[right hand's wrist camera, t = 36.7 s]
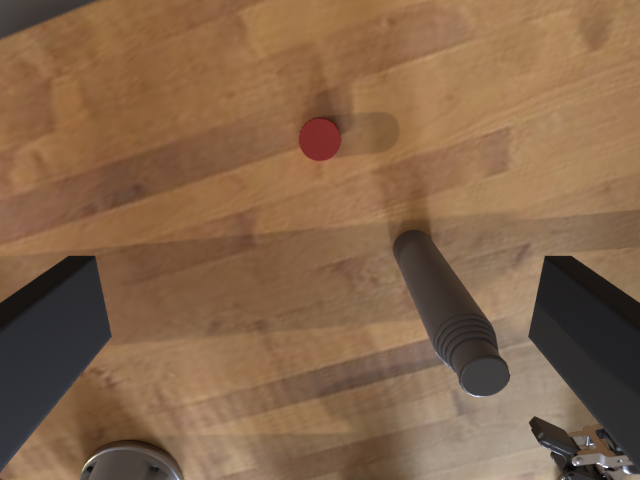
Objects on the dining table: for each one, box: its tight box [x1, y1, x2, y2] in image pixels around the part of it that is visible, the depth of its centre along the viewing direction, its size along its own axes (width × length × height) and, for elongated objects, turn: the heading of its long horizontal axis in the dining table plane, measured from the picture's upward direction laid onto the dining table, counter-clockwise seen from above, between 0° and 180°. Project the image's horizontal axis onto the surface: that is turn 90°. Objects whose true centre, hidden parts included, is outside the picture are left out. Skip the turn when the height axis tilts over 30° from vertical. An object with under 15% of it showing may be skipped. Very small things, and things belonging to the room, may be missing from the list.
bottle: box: [393, 230, 510, 397], centre depth 41 cm, size 5×5×25 cm
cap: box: [299, 117, 341, 161], centre depth 47 cm, size 5×5×2 cm
